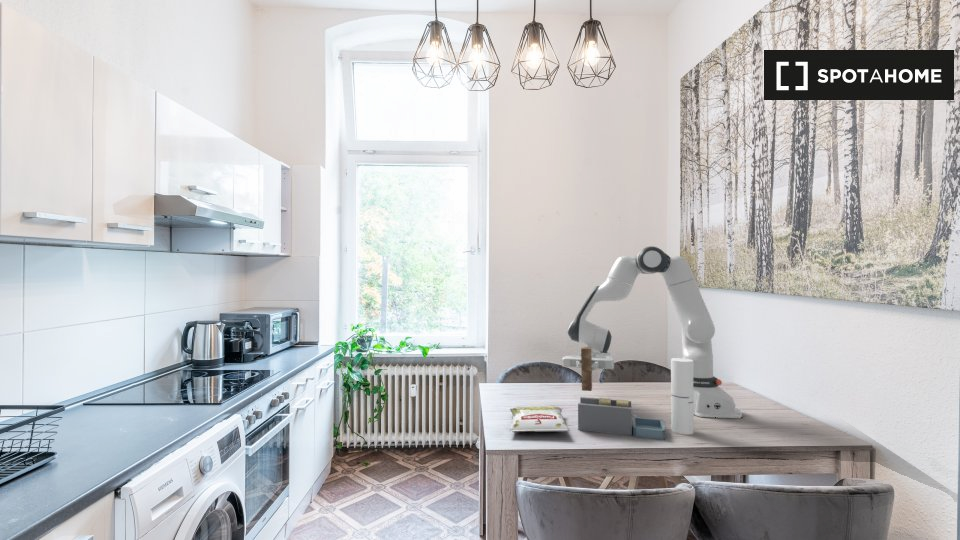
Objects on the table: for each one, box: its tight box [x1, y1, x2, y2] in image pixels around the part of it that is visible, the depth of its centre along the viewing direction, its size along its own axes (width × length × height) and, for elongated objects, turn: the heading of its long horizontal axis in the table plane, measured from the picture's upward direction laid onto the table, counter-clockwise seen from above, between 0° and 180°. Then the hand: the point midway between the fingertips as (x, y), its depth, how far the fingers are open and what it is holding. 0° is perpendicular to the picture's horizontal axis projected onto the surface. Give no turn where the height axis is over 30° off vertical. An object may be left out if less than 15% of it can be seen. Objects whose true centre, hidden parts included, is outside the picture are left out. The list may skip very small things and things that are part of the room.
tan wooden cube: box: [616, 399, 629, 407], centre depth 158 cm, size 4×4×4 cm
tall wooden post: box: [580, 346, 593, 392], centre depth 172 cm, size 4×5×16 cm
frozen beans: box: [509, 406, 570, 433], centre depth 161 cm, size 21×6×25 cm
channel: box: [577, 396, 633, 436], centre depth 160 cm, size 18×10×9 cm, turn 72°
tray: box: [632, 416, 666, 441], centre depth 155 cm, size 10×12×3 cm
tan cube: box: [599, 397, 611, 406], centre depth 160 cm, size 4×4×4 cm
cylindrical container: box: [670, 357, 695, 436], centre depth 156 cm, size 7×7×25 cm
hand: (586, 366), depth 172 cm, fingers closed on tall wooden post, 3 cm apart
